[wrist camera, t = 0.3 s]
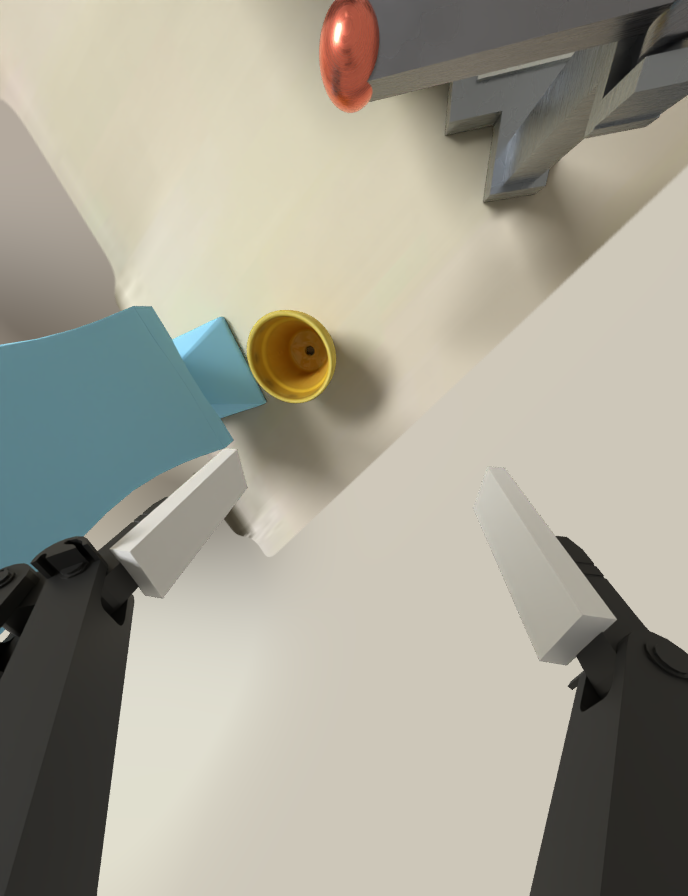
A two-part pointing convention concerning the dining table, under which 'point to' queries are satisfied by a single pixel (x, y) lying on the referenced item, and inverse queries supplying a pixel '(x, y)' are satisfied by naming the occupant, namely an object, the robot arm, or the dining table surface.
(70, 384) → the planter
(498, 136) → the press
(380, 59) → the lever
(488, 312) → the dining table surface
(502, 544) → the robot arm
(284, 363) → the plant pot
